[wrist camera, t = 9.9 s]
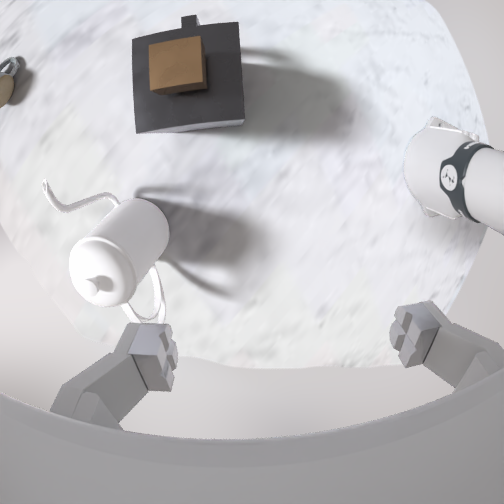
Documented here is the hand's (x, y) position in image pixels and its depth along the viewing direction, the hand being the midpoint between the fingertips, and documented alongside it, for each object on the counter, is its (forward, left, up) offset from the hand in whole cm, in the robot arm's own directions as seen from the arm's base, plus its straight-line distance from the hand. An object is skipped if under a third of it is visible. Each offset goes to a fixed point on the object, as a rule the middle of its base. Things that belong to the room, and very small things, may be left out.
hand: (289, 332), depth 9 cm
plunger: (+6, -13, -33) cm, 35 cm away
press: (+6, -14, -34) cm, 37 cm away
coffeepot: (+19, +6, -34) cm, 39 cm away
